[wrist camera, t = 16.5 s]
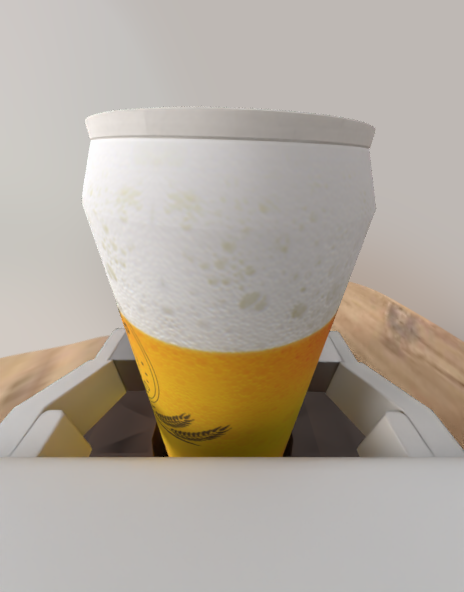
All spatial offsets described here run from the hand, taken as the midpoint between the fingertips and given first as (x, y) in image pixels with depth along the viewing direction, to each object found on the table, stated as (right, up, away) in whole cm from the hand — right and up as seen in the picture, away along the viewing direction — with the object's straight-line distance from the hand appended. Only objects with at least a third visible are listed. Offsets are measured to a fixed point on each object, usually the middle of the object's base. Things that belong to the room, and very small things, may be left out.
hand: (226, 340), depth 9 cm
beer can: (0, -7, +4) cm, 8 cm away
